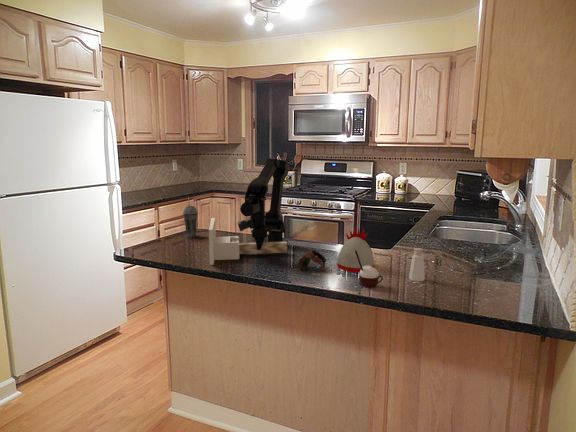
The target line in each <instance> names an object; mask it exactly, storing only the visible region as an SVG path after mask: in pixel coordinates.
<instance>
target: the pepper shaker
mask: <svg viewBox="0 0 576 432" xmlns="http://www.w3.org/2000/svg"><path fill="white" fill-rule="evenodd" d="M413 249H414V250H413V251H414V253H413V255H412V257H411V258H412V259H411V261H410V268H409V273H408V279H409V280H411V281H413V282H417V283H418V282H424V280H426V279H425V257H424V255H423V250H424V249H423V248H421V247H415V248H413Z"/></svg>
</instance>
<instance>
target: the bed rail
mask: <svg viewBox="0 0 576 432" xmlns="http://www.w3.org/2000/svg"><path fill="white" fill-rule="evenodd" d="M232 242H234V240H232ZM279 253H288V242H287V241H283V242H267V241H264V242H263V244H262V247H261V249H260V250H257V245H256V241H255V242H239V255H249V254H250V255H251V254H252V255H253V254H256V255H257V254H279Z"/></svg>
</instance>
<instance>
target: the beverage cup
mask: <svg viewBox="0 0 576 432" xmlns="http://www.w3.org/2000/svg"><path fill="white" fill-rule="evenodd" d="M187 202H188V205H186V207H184V209H183V212H182V214H183V215H182V216H183V219H184V226H185V227H184V228H185V233H186V238H196V237H197V227H198V225H197V224H198V215H199V212H198V209H197V208H196V207H195V206H194V205H191V204H190V197H189V196H188V197H187Z"/></svg>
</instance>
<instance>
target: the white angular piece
mask: <svg viewBox="0 0 576 432" xmlns="http://www.w3.org/2000/svg"><path fill="white" fill-rule="evenodd" d="M239 239H240V237H239V235H238V236H237V235H235V236H231V235H229V236H216V217H211V220H210V223H209V227H208V245H209V249H208V250H209V265H210V266H213V265H215V261H224V260H225V261H226V260H240V254H239V243H240V240H239ZM232 240H234V242H232Z"/></svg>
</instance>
